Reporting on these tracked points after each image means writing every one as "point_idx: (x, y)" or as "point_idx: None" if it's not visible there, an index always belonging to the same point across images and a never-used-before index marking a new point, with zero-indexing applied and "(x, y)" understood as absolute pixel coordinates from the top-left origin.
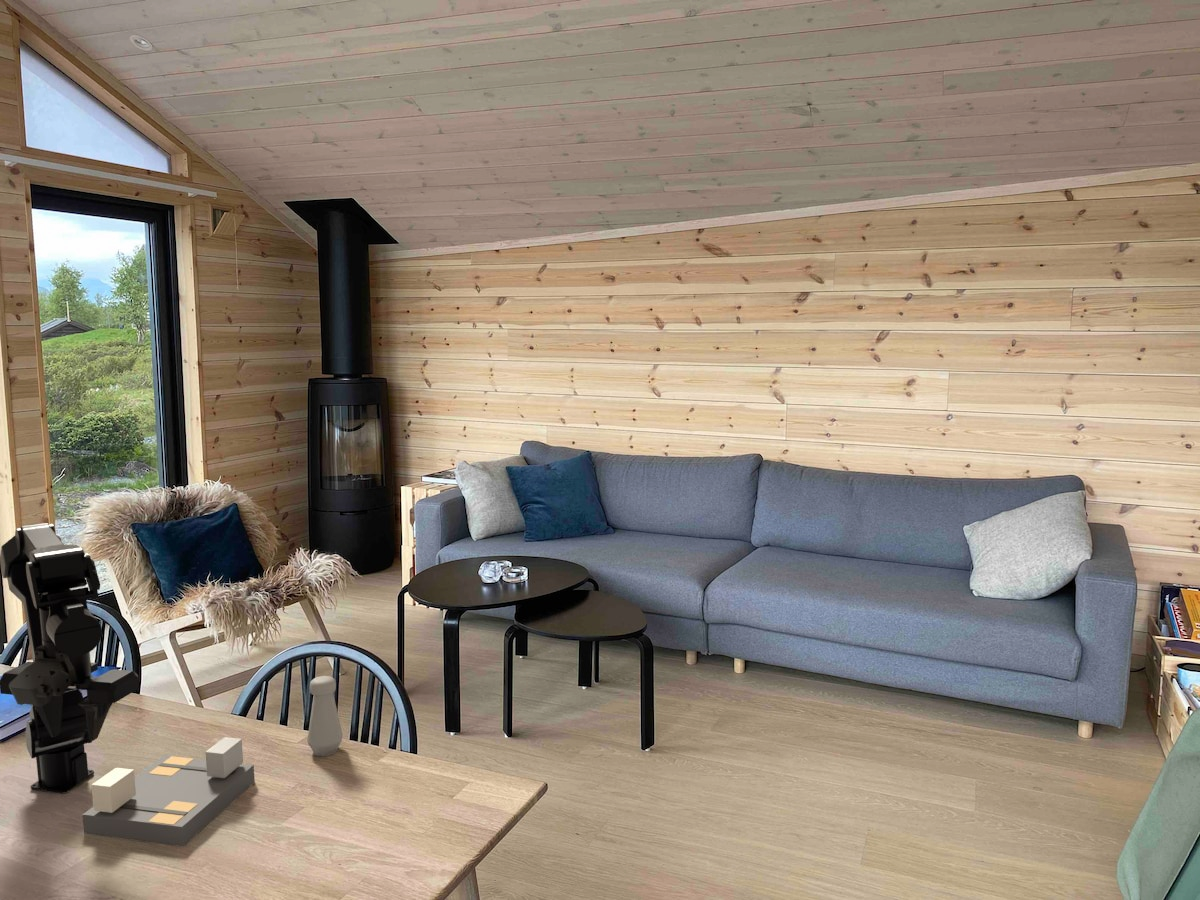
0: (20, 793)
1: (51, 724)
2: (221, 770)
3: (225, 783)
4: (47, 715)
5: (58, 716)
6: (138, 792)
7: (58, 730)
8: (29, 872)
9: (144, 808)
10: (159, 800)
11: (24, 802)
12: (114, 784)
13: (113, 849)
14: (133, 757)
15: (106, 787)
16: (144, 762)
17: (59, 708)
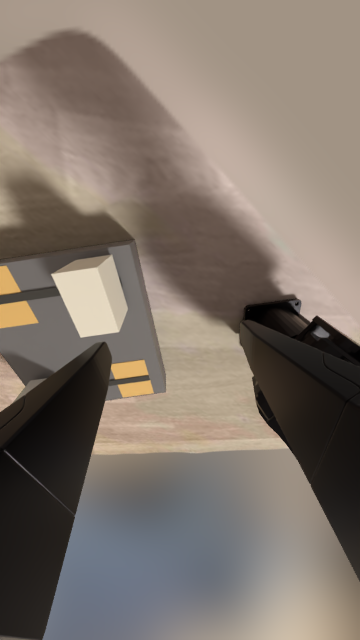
0: (305, 287)
1: (260, 345)
2: (27, 388)
3: (25, 374)
4: (292, 367)
5: (266, 386)
6: None
7: (243, 345)
8: (109, 100)
9: (51, 292)
10: (59, 317)
11: (284, 273)
12: (58, 286)
13: (53, 221)
14: (226, 383)
15: (61, 272)
16: (206, 380)
17: (282, 420)
